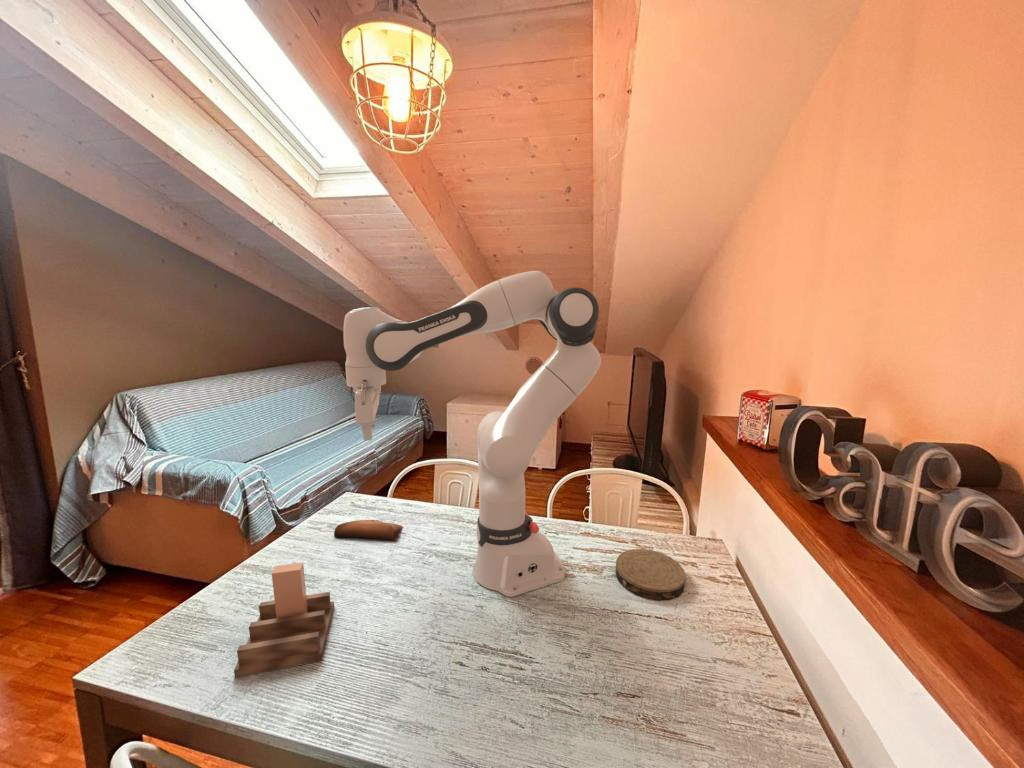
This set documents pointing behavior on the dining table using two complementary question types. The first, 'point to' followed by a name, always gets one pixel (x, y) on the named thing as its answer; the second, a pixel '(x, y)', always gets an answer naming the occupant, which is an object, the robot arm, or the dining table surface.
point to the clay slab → (289, 590)
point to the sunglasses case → (368, 529)
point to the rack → (286, 637)
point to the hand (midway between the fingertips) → (369, 433)
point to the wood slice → (650, 574)
